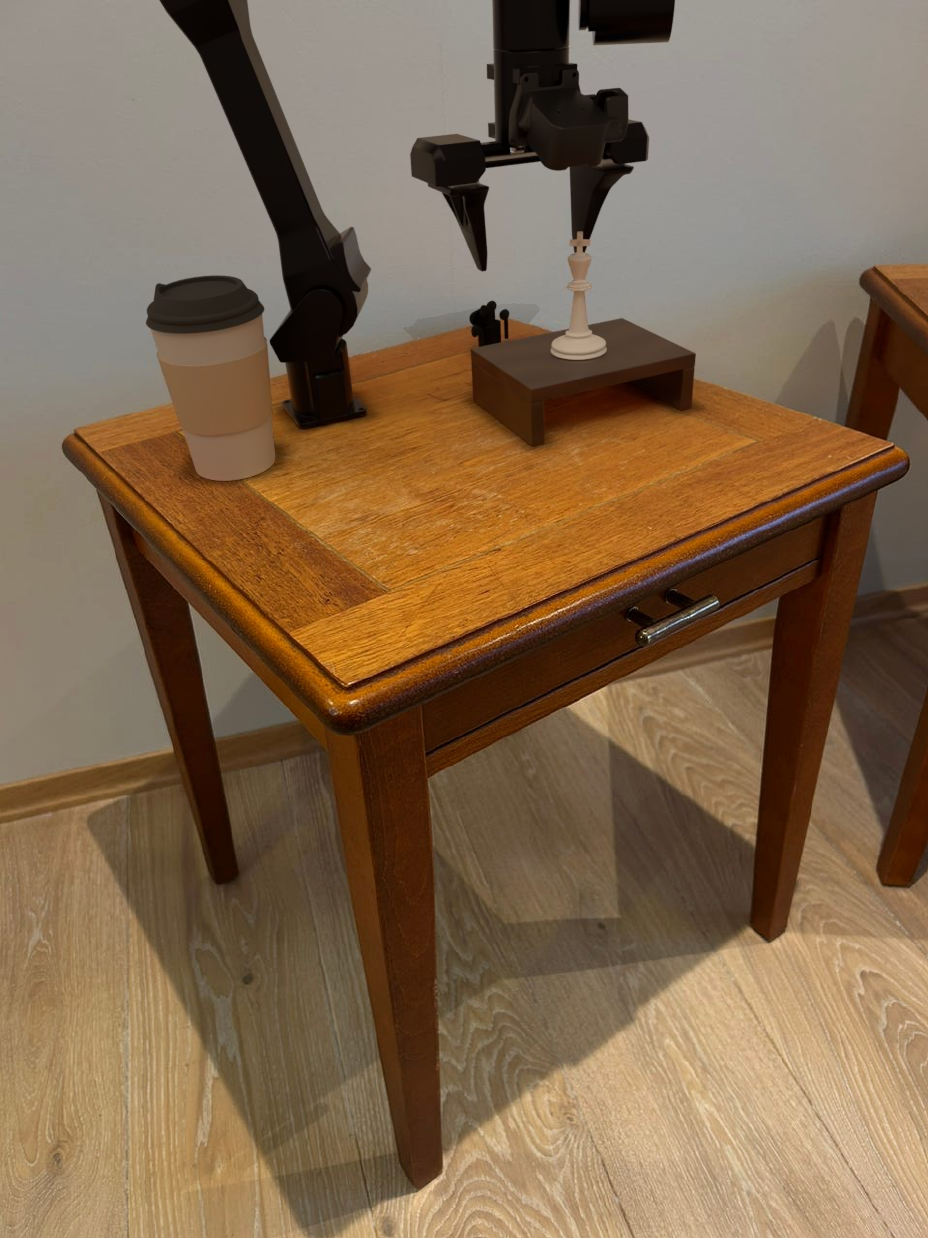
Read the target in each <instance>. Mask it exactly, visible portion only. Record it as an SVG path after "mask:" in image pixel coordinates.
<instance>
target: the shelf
mask: <svg viewBox="0 0 928 1238" xmlns="http://www.w3.org/2000/svg"><path fill="white" fill-rule="evenodd" d="M588 328H589V330H591V331H592V334H593V335H597V336H599V337H601V338H603V339H604V340H605V342H606V348H607V351H606V353H605V354H603V355H602V356H599V357H596V358H593V359H587V360H567V359H562V358H558V357H556V356H554V355H553V354H552V353H551V348H552V346H551V344H552V342H553V341H554V340H555V339H556V338H558V337H560V336H563V335H566V333H565V332H566V331H567V330H569V328H566V329H560V330H556V331H551V332H547V333H542V334H541V333H540V334H537V335H536V334H535V335H532V336H527V337H522V338H517V339H511V340H507V341H501V343H496V344H491V345H486V346H481V347H479V346H477V347H472V348H470V364H471V383H472V384H471V385H472V386H471V387H472V399H473V400H472V401H473V402H474V403H475V404H476V405H478V406H479V407H481V409H483V410H485V411H486V412H487V413H488V414H489V415H491V416H492V417H493V418H495V419H496V420H497V421H499V422H500V423H501V424H503V425H504V426H505V427H506V428H507V429H509V430H510V431H511V432H513V433H514V434H515V435H517V436H518V437H519V438H521V439H522V440H523V441H524V442H525V443H527V444H528V445H529V446H531V447H537V446H539V445H544V444H545V401H549V400H552V399H557V398H562V397H567V396H571V395H574V394H575V395H576V394H579V393H583V392H588V391H593V390H597V389H601V388H606V387H610V386H614V385H615V386H616V385H619V384H623V383H628V382H630V383H631V384H633V385H635V386H637V387H639V388H640V389H642V390H644V391H645V392H647V393H649V394H651V395H652V396H654V397H656V398H658V399H659V400H661V401H663V402H665V403H666V404H668V405H670V406H672V407H673V408H675V409H677V410H679V411H684V410H689V409H691V408H692V405H693V394H694V380H695V367H696V359H697V358H696V356H697V354H696V352H694V351H692V350H689V349H688V348H685V347H683V346H682V345H679V344H677V343H675V342H674V341H671V340H669V339H666V338H664V337H663V336H660V335H659V334H656V333H654V332H652V331H651V330H648V329H647V328H644V327H642V326H640V325H638V324H635V323H634V322H631V321H629V320H627V319H625V318H623V317H621V318H616V319H615V318H614V319H611V320H606V321H600V322H595V323H592V324H588Z"/></svg>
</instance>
